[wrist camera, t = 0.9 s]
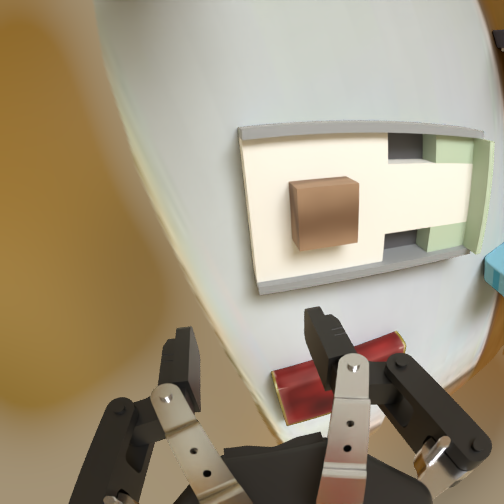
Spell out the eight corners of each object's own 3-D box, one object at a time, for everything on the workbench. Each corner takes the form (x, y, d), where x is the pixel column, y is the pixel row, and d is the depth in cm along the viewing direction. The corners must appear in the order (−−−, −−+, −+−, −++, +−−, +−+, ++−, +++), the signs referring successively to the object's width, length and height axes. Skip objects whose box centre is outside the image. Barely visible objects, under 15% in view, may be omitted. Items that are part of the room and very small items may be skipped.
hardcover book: (270, 368, 44) (275, 389, 40) (395, 328, 44) (407, 344, 40) (282, 408, 49) (287, 427, 46) (389, 373, 50) (398, 388, 46)
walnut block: (288, 181, 28) (296, 189, 26) (346, 176, 29) (359, 183, 26) (291, 238, 31) (299, 251, 28) (346, 231, 32) (357, 242, 29)
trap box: (237, 127, 28) (243, 130, 23) (463, 127, 30) (494, 133, 25) (254, 276, 36) (262, 306, 31) (453, 241, 38) (478, 259, 33)
